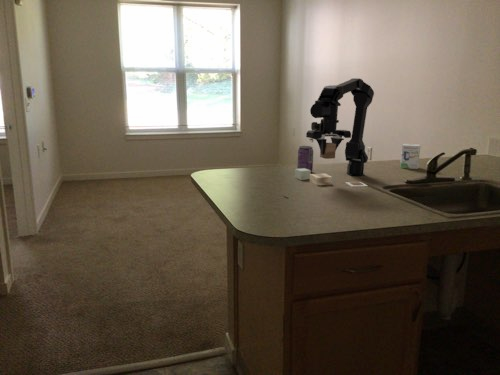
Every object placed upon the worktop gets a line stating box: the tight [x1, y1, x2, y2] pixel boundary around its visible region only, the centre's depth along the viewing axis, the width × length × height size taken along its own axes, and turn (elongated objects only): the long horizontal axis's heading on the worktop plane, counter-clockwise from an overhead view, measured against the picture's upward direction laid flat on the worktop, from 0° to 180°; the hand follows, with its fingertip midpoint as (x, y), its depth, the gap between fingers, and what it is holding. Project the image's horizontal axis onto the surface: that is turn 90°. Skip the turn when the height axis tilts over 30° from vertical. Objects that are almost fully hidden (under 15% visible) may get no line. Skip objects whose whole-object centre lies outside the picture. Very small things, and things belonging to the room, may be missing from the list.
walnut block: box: [319, 142, 337, 160], centre depth 186 cm, size 4×4×6 cm
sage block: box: [294, 168, 312, 181], centre depth 197 cm, size 5×5×4 cm
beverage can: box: [296, 145, 314, 172], centre depth 209 cm, size 7×7×12 cm
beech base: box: [309, 173, 333, 186], centre depth 189 cm, size 7×7×4 cm
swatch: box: [345, 181, 369, 188], centre depth 187 cm, size 7×7×1 cm
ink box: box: [399, 143, 421, 170], centre depth 223 cm, size 9×5×12 cm, turn 73°
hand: (327, 154), depth 187 cm, fingers closed on walnut block, 4 cm apart
